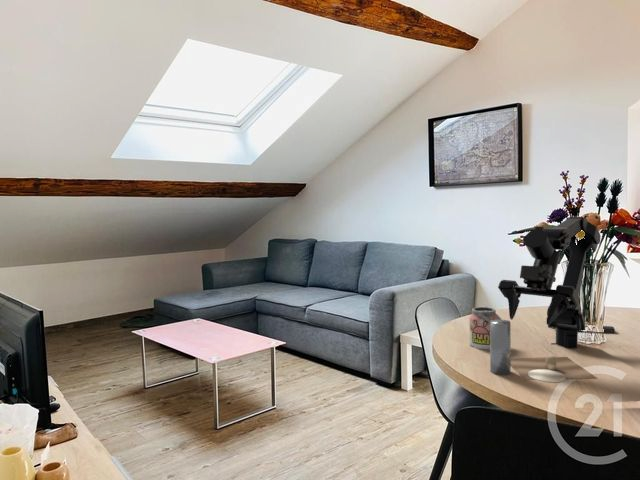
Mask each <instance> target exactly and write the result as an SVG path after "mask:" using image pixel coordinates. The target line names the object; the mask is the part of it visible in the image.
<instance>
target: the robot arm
mask: <svg viewBox="0 0 640 480" xmlns="http://www.w3.org/2000/svg"><path fill="white" fill-rule="evenodd" d="M581 230H583V231H584V232H585V236H584V238H585V239H584V238H583V239H581V240H579V241H578V244H577V245H576V243H575V238H576V237H575V235H576V234H577V233H578V232H580V231H581ZM523 243H524V245H525V247H526V248H527V251H528V252H529V254H530V255H531V257H532V259H533V258H534V262H533V265H521V267H520V274H519V278H520V279H523V284H525V285H526V286H520V285H519V283H518V282H517V281H516V280H511V279H510V280H508V279H502V280H500V281H499V284H498V287H497V288H498V289H499V292H501V294H502V295H503V297H504V298H506V299H507V302H508V311H509V312H508V313H509V319H510V320H513V319H514V317H515V315H516V313H517V310H518V307H519V305H520V299H519V298H521V297H522V296H521V295H529V296H530V295H531V296H538V297H539V296H540V297H549V298H551V301H550V304H549V305H548V307H547V310H546V311H547V312H546V316H547V317H548V318H547V317H546V325H547V326H548V325H549V327H556V329H555V342H551V343H550V345H555V346H558V347H563V348H566V349H578V333H579V332H582V331H581V330H585V324H586V319H585V316H584V314H583V311H582V306H581V304H580V296H579V295H580V291H581V287H582V283H583V279H584V275H583V263H584V262H585V261H586V253H587V252H588V251H589V249H590V248H592V250H593V254H594V253H595V252H596V251H597V248H598V245H599V244H601V233H600V231H599V229H598V227H597V226H596V225H595V224H593V223H591V222H589V221H588V219H587V217H584V216H569V217H567V218H566V219H565V220H564V221H562V222H561V223H559V224H558V225H556V226H554V227H544V226H535V228H534V229H533V230H531V231H529V232H528V233H526V234H525V235H524V237H523ZM568 247H569V249H570V251H571V252H570V256H569V259H568V263H567V267H566V270H565V274H564V277H563V282H562V284H558V285H556V288H555V289H552V287H553V284H554V283H555V282H556V280H557V278H556V273H557V269H558V265H560V264H561V255H560V253H559V252H558V251H565V250H566V249H568ZM549 327H548V328H549Z"/></svg>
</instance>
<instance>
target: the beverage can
mask: <svg viewBox="0 0 640 480" xmlns="http://www.w3.org/2000/svg"><path fill="white" fill-rule="evenodd" d="M496 311H497V310H496V308H493V307H488V306H479V307H478V306H476V307H473V308H472V309H471V314H470V315H469V321H468V322H469V326H468V327H469V347H470V348H474V349H478V350H490V321H491V320H497V319H499V320H503V319H502V318H501V317H500V315H498V314H497V313H496Z"/></svg>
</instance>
